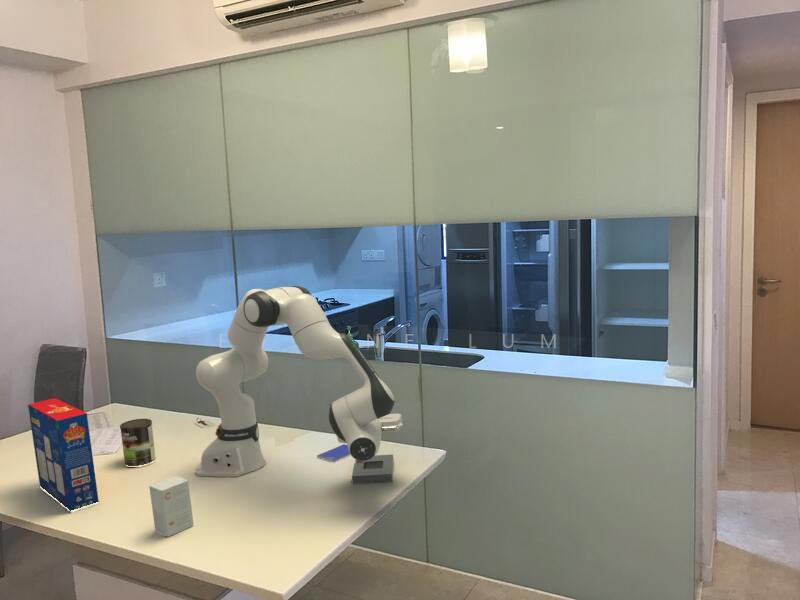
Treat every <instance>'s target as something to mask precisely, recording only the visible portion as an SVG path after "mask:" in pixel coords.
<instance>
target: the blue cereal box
mask: <svg viewBox="0 0 800 600" xmlns="http://www.w3.org/2000/svg"><path fill="white" fill-rule="evenodd" d="M27 409H28V413H29V414H28V415H29V421H30V426H31V434H32V442H33V449H34V455H35V461H36V468H37V475H38V482H39V487H40V486H41V487H42V488H43V489H45V490H46V491H47V492H48V493H49V494H51V495H52V496H53V497H54V498H56V499H57V500H58V501H59V502H60V503H62V504H63V505H64V506H65V507H67V508H68V509H69V510H70V511H71V510H74V509H78V508H81V507H83V506H87V505H90V504H93V503H96V502H99V495H98V487H97V480H96V473H95V465H94V457H93V449H92V442H91V434H90V427H89V420H88V413H87V412H85V411H83V410H81V409H78V408H77V407H74V405H73V406H72V405H70V404H69V403H67V402H64V401H62V400H60V399H58V398H50V399H46V400H41V401H36V402H33V403H28V404H27ZM99 503H100V502H99Z"/></svg>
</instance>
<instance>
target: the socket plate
mask: <svg viewBox="0 0 800 600" xmlns="http://www.w3.org/2000/svg"><path fill="white" fill-rule="evenodd" d="M394 464H395V462H394V454H380V455H379V454H378V455H377V454H376V455H375V456H374V457H373V458H372V459H370V460H367V461H359V460H356V459H354V465H353V469H352V474H351V480H352V481H351V482H352V485H359V484H361V485H362V484H376V483H377V484H378V483H380V484H381V483H392V482H393V478H394Z"/></svg>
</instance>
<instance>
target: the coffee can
mask: <svg viewBox="0 0 800 600" xmlns="http://www.w3.org/2000/svg"><path fill="white" fill-rule="evenodd" d="M152 423H153V420H152V419H149V418H135V419H131V420H128V421H124V422H122V423H121V424H120V425H119V429H120V433H121V441H122V450H123V452H122V453H123V458H124V465H125V464H126V465H128V466H139V465H144V464H148V463H150V462H152V461H154V460H155V459H156V460H157V457H156V452H155V451H156V449H155V441H154V432H153V431H154V430H153V424H152Z"/></svg>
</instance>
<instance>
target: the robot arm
mask: <svg viewBox="0 0 800 600" xmlns="http://www.w3.org/2000/svg"><path fill="white" fill-rule="evenodd" d="M326 315H327V314H325V312H324V310H323V309H322V307H321V305H320V304H319V302H318V301H317V300H316V299H315V297H314V296H313V295H312V293H311V292H310V290H309V289H307V288H305V287H304V286H298V285H292V286H279V287H274V288H269V289H262V288H253V289H250V290H248V291H247V292H246V293H245V295H243V297H242V299H241V300H240V302H239V304H238V306H237V308H236V310H235V312H234V315H233V318H232V320H231V322H230V326H229V328H228V331H227V338H228V341H229V344H230V345H231V346H232V348H231V349H229V350H227V351H224V352H223V351H222V352H220V353H216V354H211V355H210V356H208V357H206V358H203V359H201V361H199V362H198V363H197V366H196V370H195V376H196V377H195V378H196V379H197V380H196V381H197V382H198V384H199V386H201V388H203V389H205V390H207V391H208V392H210V393H211V395H213V396H214V398H215V400H216V402H217V404H218V410H219V414H220V415H219V416H220V422H221V423H219V424H218V425H217V428H216V431H215V436H216V438H215V439H214V440H213V441H211V443H210V444H208V446H206V448H205V449H204V450H203V451H202V455H201V459H200V461H201V462H199V463H198V464H197V465H196V467H195V469H194V474H195V476H197V477H225V478H226V477H232V478H233V477H234V478H237V477H240V476H243V475H244V474H247V473H251V472H254V471H257V470H259V469H261V468H262V467H263V466H265V464H266V459H265V458H264V456H263V452H262V449H261V445H260V440H259V439H260V431H259V430H260V429H259V423H258V421H257V417H256V407H255V401H254V398H252V397H251V396H250V395H249V394H246V393H243V392H242V390H241V388H240V384H241V383H243V382H247V381H250V380H253V379H255V378H258V377H259V376H260V375H263V374H264V373H266V371H267V369H268V367H269V356H268V354H267V352H266V351H265V350H264V349H263V348H262V345H263V342H264V340H265V337H266V334H267V331H268V329H269V327H273V326H274V327H276V326H282V325H285V324H286V325H287V327H288V329H289V331H290V333H291V336H292V339H293V341H294V342H295V345H296V346H297V349H298V350H299V352H301V354H302V355H304V356H305V357H306V358H309V359H312V360H328V359H338V358H339V359H340V358H341V359H346V360H347V361H348V362H349V363H350V364H351V365H352V367H353V368H354V370H355V371H356V373H357V374H358V375H359V376H360V378H361V380H362V381H363V383H364V384H363V386H361V387H360V388H357V389H355V390H353V391H352V392H350V393H348V394H345V395H344V396H341V397H340V398H338V399H336V400H334V401H332V402H331V403H330V405H329V410H328V421H329V424H330V426H331V428H332V430H333V432H334V433H335V436H336V437H337V441H338V443H340V444H346V445H347V446H348V450H349V453H350V454H351V455H350V456H351V457H352V459H354V460H359V461H367V460H370V459H372V458H373V457H374V456H375V455H377V453H378V452H379V451H380V450H379V449H380V446H381V440H382V439H381V438H382V434H383V433H384V434H387V433H388V434H389V433H397V432H399V431H400V430H401V429H402V428H403V427H404V425H403V418H402V417H403V416H402V414H401V413H391V412H392V411H393V409H394V405H395V397H394V394H393V391H391V389H390V387H389V386H388V385H387V384H386V383H385V382H384V381H383V380H382V379H381V377H380V376H379V375H378V373H377V372H376V371H375V369H374V368H373V367H372V365H371V364H370V362H369V361H368V359H367V358H366V357H365V355H364V353H362V350H360V348H359V347H358V346H357V345H356V343H355V342H354V341H353V340H352V339H351V337H350V336H349V335H348V334H346V333H341V332H340V333H339V332H337V330H335V328H333V327H332V326H331V324H330V322H329V319H328V318H327V316H326Z"/></svg>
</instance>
